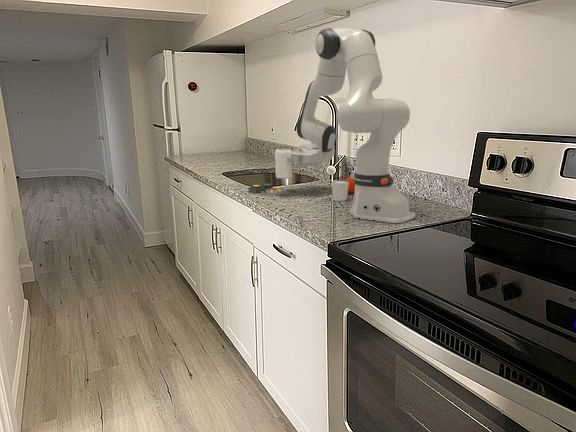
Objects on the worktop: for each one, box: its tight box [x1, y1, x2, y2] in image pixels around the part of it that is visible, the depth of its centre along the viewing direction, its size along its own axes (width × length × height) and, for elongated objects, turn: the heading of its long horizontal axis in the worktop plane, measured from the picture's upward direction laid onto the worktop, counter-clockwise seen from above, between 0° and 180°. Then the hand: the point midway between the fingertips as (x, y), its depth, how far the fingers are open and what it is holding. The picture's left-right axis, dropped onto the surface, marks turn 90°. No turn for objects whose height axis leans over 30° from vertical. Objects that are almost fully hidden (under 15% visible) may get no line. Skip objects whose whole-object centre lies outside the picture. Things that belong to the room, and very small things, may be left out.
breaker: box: [250, 184, 262, 188], centre depth 193 cm, size 4×3×2 cm
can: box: [274, 146, 293, 180], centre depth 182 cm, size 6×6×12 cm
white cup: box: [331, 180, 349, 202], centre depth 182 cm, size 7×7×7 cm
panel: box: [247, 183, 291, 198], centre depth 192 cm, size 14×12×4 cm
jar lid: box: [265, 187, 288, 196], centre depth 192 cm, size 9×9×1 cm
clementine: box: [344, 176, 355, 194], centre depth 193 cm, size 8×7×7 cm
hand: (283, 158), depth 180 cm, fingers closed on can, 4 cm apart
